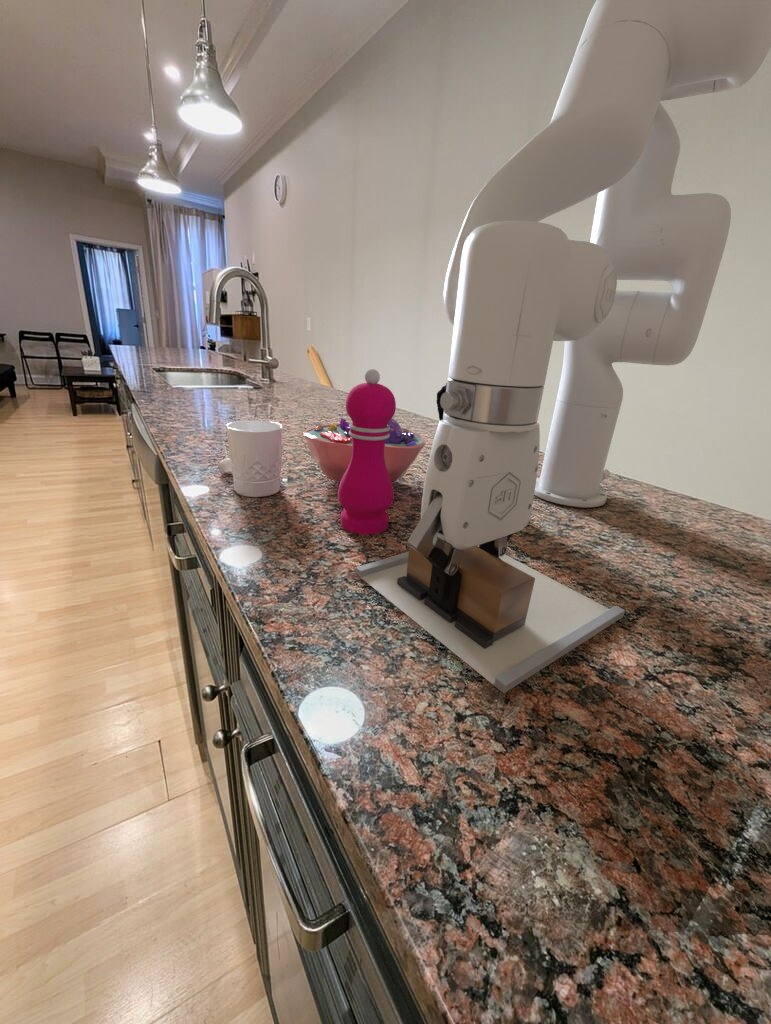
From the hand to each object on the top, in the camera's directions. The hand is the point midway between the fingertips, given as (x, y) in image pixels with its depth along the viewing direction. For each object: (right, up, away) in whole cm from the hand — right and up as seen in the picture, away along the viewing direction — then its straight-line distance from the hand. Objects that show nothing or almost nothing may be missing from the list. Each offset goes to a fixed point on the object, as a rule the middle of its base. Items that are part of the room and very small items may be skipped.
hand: (462, 593), depth 43 cm
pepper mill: (-10, +6, +16) cm, 20 cm away
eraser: (0, -1, 0) cm, 1 cm away
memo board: (+3, -1, +2) cm, 4 cm away
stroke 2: (-2, -1, -1) cm, 3 cm away
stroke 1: (-5, 0, +2) cm, 5 cm away
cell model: (-11, +13, +33) cm, 37 cm away
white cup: (-27, +11, +26) cm, 39 cm away
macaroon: (-33, +14, +32) cm, 48 cm away
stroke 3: (0, -3, -4) cm, 5 cm away
